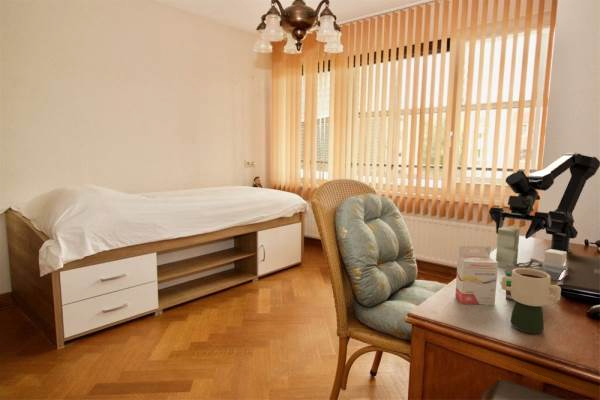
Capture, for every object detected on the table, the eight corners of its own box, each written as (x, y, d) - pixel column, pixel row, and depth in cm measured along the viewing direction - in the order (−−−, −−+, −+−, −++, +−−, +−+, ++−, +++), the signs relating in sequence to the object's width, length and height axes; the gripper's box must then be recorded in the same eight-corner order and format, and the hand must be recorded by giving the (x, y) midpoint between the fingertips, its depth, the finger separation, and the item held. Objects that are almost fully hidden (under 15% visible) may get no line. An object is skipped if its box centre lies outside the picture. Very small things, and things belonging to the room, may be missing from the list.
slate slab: (535, 268, 117) (536, 260, 116) (567, 275, 110) (568, 266, 109) (525, 274, 111) (526, 266, 111) (559, 282, 104) (560, 273, 104)
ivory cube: (548, 262, 122) (549, 248, 121) (565, 265, 118) (566, 251, 118) (543, 265, 119) (545, 251, 118) (561, 269, 115) (562, 254, 114)
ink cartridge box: (461, 304, 89) (464, 250, 87) (454, 296, 94) (457, 244, 92) (495, 305, 88) (499, 250, 86) (487, 297, 93) (490, 245, 91)
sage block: (501, 261, 123) (503, 226, 121) (516, 265, 119) (519, 228, 117) (495, 264, 120) (498, 228, 118) (511, 268, 116) (514, 231, 114)
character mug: (557, 329, 76) (562, 273, 74) (556, 343, 71) (561, 283, 69) (501, 315, 83) (504, 264, 81) (496, 327, 77) (500, 272, 76)
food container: (526, 310, 86) (529, 271, 84) (502, 300, 91) (504, 264, 90) (553, 299, 91) (556, 263, 90) (529, 291, 97) (531, 257, 95)
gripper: (492, 185, 128) (477, 218, 123) (552, 189, 114) (537, 226, 108) (499, 204, 134) (485, 235, 129) (557, 210, 120) (543, 246, 114)
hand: (511, 235), depth 120 cm, fingers open, 9 cm apart
